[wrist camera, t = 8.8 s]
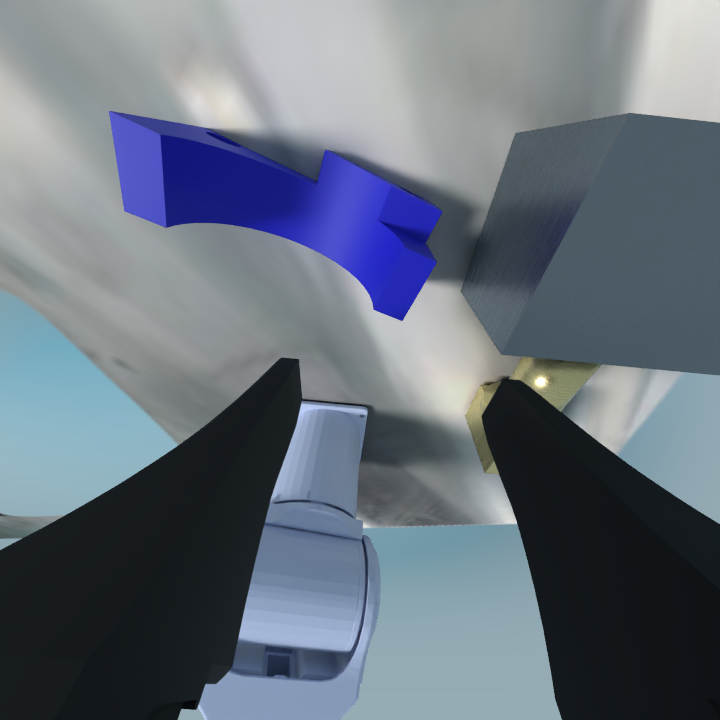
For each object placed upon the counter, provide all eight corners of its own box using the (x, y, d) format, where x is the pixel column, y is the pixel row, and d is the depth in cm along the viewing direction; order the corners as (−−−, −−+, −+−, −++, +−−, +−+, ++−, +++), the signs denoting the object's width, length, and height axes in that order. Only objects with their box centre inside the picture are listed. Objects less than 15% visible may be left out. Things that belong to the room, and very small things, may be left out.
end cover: (514, 420, 24) (546, 480, 20) (455, 414, 24) (474, 474, 20) (581, 325, 18) (653, 383, 13) (502, 317, 18) (546, 373, 13)
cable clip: (431, 202, 14) (458, 224, 10) (394, 275, 17) (402, 320, 12) (207, 87, 12) (98, 42, 7) (205, 193, 15) (124, 210, 10)
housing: (629, 316, 18) (743, 388, 12) (457, 300, 18) (495, 364, 12) (759, 159, 12) (1066, 160, 7) (515, 133, 12) (629, 113, 7)
